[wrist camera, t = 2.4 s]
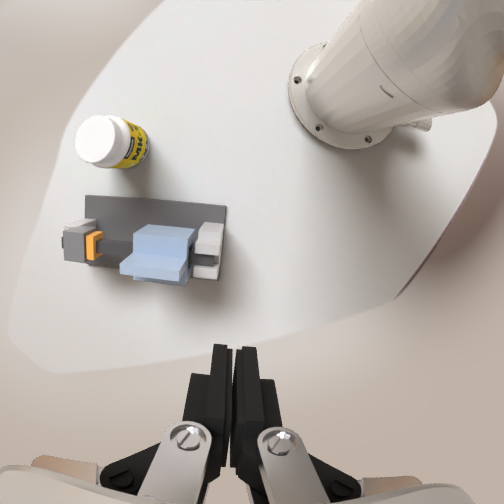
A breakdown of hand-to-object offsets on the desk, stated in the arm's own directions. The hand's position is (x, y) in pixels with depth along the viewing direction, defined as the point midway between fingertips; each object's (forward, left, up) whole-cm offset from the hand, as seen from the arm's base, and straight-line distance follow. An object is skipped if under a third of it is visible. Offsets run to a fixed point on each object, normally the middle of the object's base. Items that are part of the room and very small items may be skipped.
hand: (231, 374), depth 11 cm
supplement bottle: (+12, -10, -21) cm, 26 cm away
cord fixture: (+9, 0, -20) cm, 22 cm away
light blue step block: (+6, 0, -17) cm, 18 cm away
